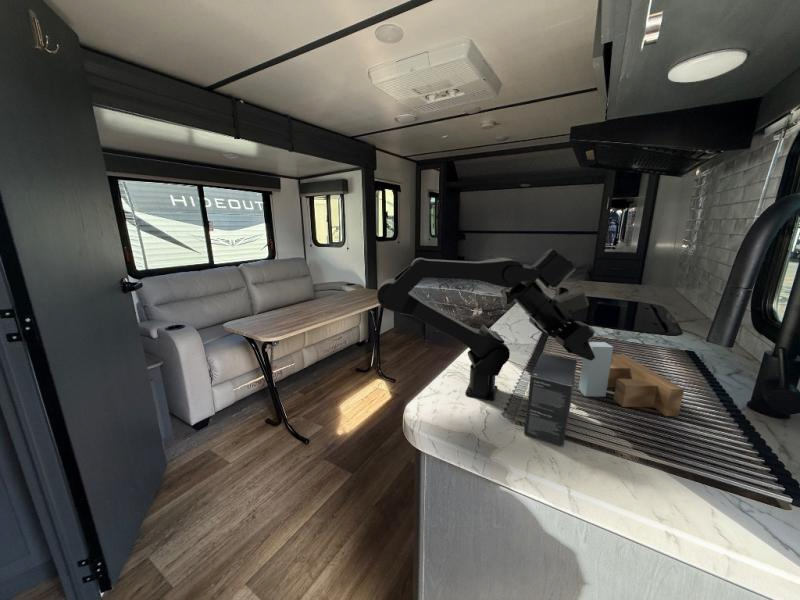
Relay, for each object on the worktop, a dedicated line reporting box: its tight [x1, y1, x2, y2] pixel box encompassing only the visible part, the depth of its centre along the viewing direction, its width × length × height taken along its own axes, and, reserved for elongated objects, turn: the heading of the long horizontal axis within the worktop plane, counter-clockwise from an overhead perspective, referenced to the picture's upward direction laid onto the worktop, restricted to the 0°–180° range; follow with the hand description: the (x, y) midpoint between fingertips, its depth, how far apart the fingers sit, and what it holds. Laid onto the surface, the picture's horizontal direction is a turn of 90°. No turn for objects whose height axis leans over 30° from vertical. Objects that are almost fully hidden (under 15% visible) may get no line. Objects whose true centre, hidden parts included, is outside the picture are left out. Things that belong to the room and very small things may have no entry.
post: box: [578, 341, 614, 397], centre depth 71 cm, size 4×3×12 cm, turn 89°
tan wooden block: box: [607, 353, 685, 417], centre depth 72 cm, size 9×18×6 cm, turn 179°
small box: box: [523, 352, 578, 447], centre depth 60 cm, size 13×7×12 cm, turn 148°
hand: (581, 350), depth 70 cm, fingers open, 9 cm apart
